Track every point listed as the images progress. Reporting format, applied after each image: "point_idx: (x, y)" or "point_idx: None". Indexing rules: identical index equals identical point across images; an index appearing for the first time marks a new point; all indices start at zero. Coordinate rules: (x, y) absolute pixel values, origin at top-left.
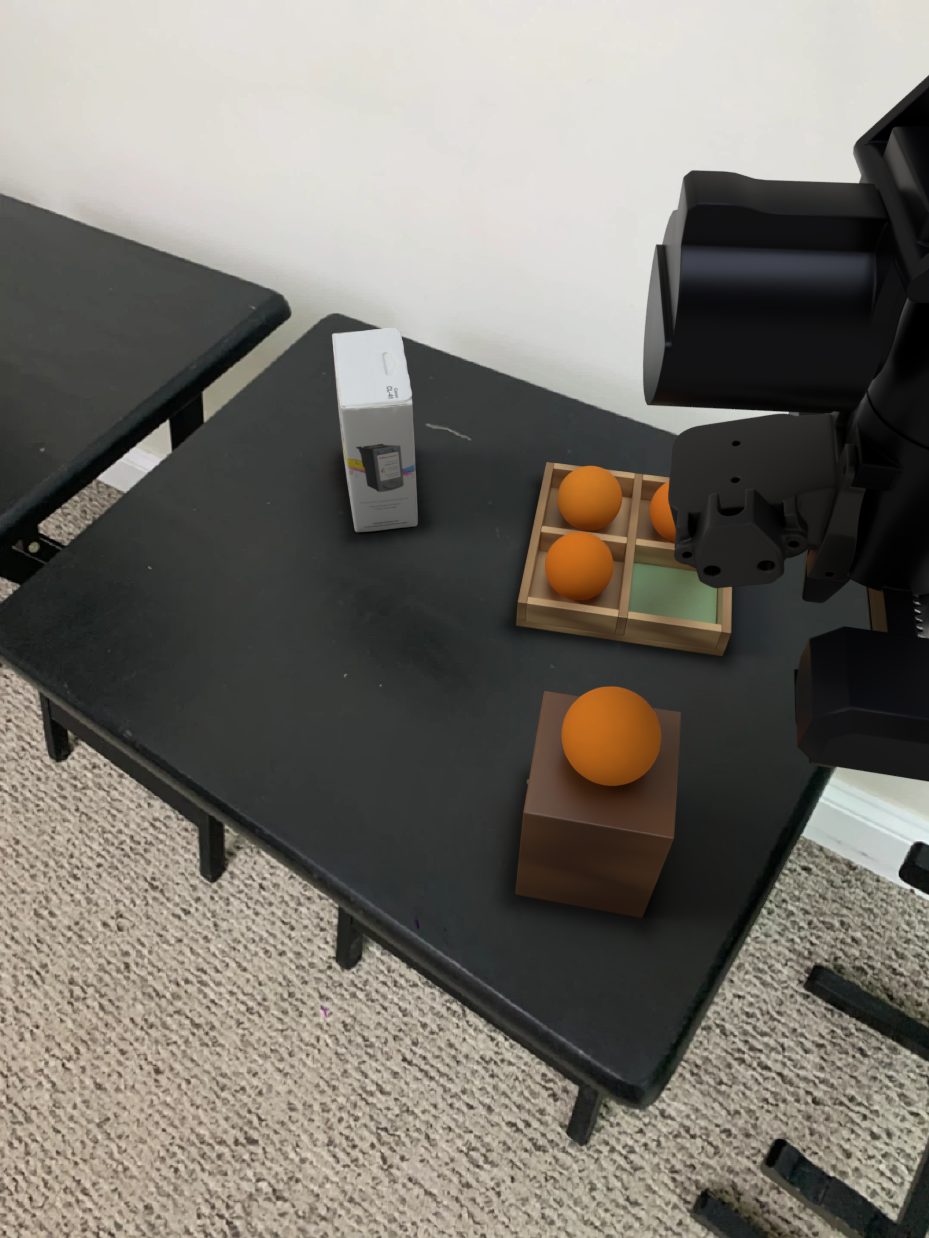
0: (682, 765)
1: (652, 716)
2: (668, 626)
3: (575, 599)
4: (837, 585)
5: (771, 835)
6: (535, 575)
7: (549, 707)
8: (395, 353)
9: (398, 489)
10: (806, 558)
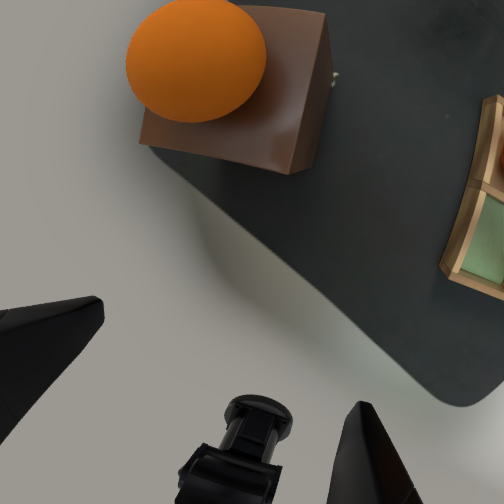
0: (345, 202)
1: (168, 97)
2: (467, 225)
3: (502, 150)
4: (338, 456)
5: (279, 253)
6: None
7: (299, 17)
8: None
9: None
10: (378, 464)
